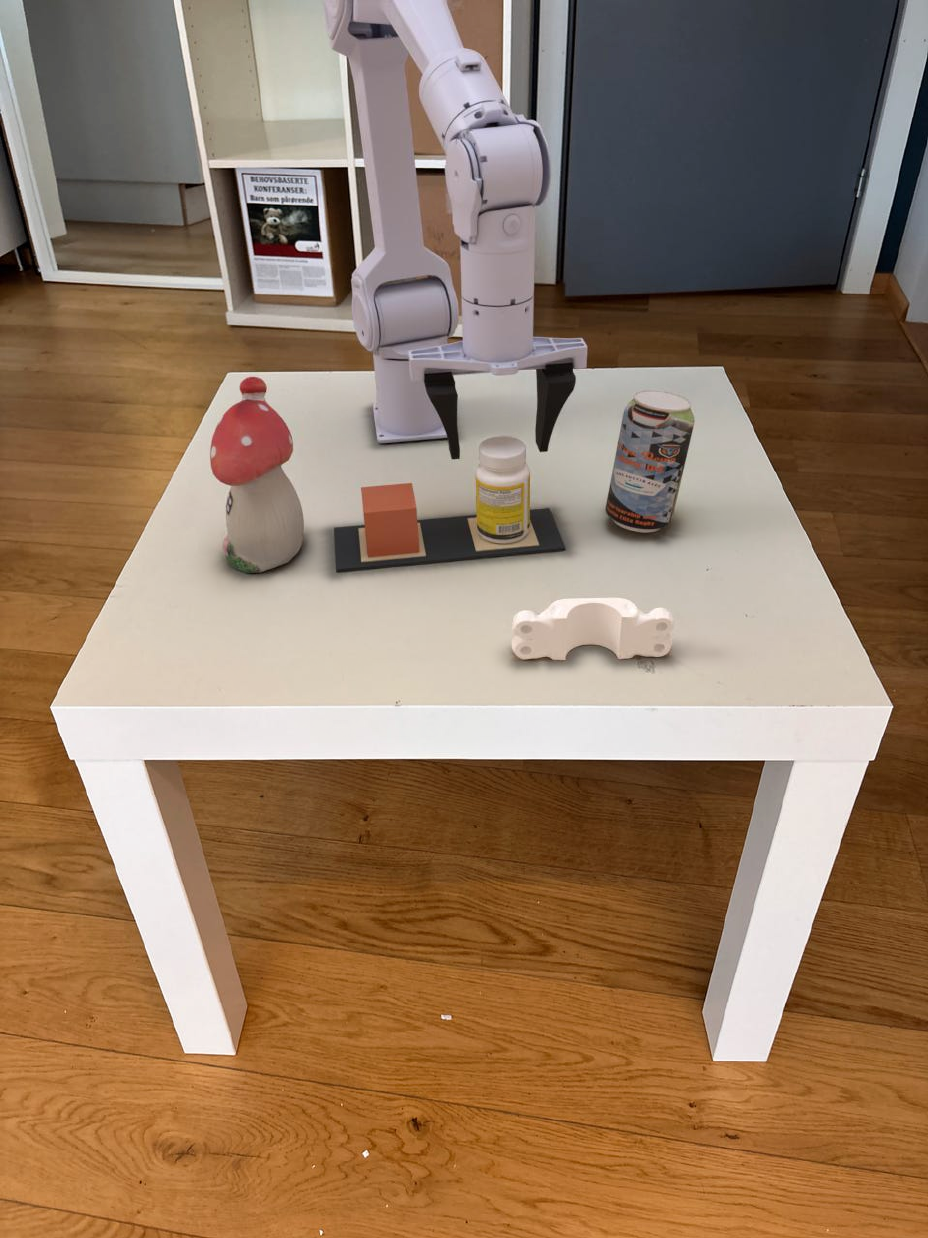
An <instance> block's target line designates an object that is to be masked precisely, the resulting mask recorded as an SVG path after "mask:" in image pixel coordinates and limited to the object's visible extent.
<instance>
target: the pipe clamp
mask: <svg viewBox="0 0 928 1238" xmlns="http://www.w3.org/2000/svg"><path fill="white" fill-rule="evenodd" d="M674 627H675V621H674V618H673V614H672V613H671V612H670V611H669V610H668V609H667V608H665V607H656V608H652V609H651V610H650V611H649V612H648V613H645V612H644V611H642V609H639V608H638V607H637V605H636V604H635V603H634V602H633V601H631V600H629V599H627V598H623V597H582V598H581V597H578V598H577V597H575V598H571V597H570V598H561V599H557V600H554V601H553V602H551V604H549V605H548V607H546V608H545V609H543V611H542V612H540V613H538V614H537V615H536V613H534V611H531V610H528V609H524V610H520V611H518V612H517V613H516V614H515V615H514V617H513V619H512V625H511V629H512V632H513V633H514V634H515V636H514V637H513V638H512V640H511V643H510V644H511V651H513V653H514V655H515V656H516V657H518V658H519V659H520V660H530V659H531V660H533V659H534V660H535V659H540V658H545V657H547V658H549V659H551V660H553V661H566V657H567V655H568V653H569V652H571V650H574V649H575V648H577V647H580V646H585V645H595V646H600V647H603V648H607V649H608V650H609V651H612V653H614V655H616V657H617V659H618V660H627V659H632V658H633V657H634V656H641V657H647V658H649V657H654V658H660V657H664V656H666V655H668V653H669V652H670V650H671V649H672V647H673V639H672V637H671V635H670V633H671V632H672V631H673V630H674Z"/></svg>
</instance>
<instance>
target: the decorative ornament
mask: <svg viewBox="0 0 928 1238" xmlns="http://www.w3.org/2000/svg"><path fill="white" fill-rule="evenodd" d="M267 389H268V388H267V384H266V382H265V380H263V379H262V378H261V377H258V376H249V377H246V378H244V379H243V380H242V381H241V382H240V383H239V391H240V393H241V396H242V398H241V400H240V401H239V402H237V403H234V404H233V405H231V406H230V407H229V408H228V409H227V410H226V411H225V412H224V414H222V416H221V417H220V418H219V420H218V422H217V423H216V427H215V429H214V432H213V434H212V436H211V437H212V438H211V442H210V449H209V450H210V451H209V460H210V462H209V463H210V469H211V472H212V475H213V476H214V477H215V479H217V480H218V481H219V482H220V483H222V484H224V485H226V486H230V489H229V492H228V495H227V497H226V503H225V524H226V525H225V526H226V532H227V535H226V536H225V538H224V539H223V541H222V552H223V556H224V557H225V559H226V561H227V562H228V563H229V564H230V565H231V567H232V568H234V569H236V570H238V571H241V572H243V573H246V574H257V573H259V574H260V573H263V572H265V571H268V570H271V569H275V568H277V567H280V566H282V565H285V564H288V563H289V562H290V561H291V560H292V559H293V558H294V557H295V556H296V555H297V554H298V552H299V551H300V549H301V547H302V545H303V540H304V534H305V519H304V512H303V507H302V504H301V500H300V498H299V495H298V493H297V490H296V489H295V487H294V484H293V483H292V481H291V480H290V478H289V477H288V476H287V474H286V472H284V470H283V468H282V466H283V465H284V464H285V463H287V462H289V460H290V458H291V457H292V455H293V452H294V441H293V440H294V439H293V436H292V433H291V431H290V428H289V426H288V425H287V423H286V422H285V420H284V418H282V417H281V415H280V414H279V413H278V412H277V411H276V410H275V409H274V408H273V407H272V406H270V404H269V403H268V402H267V401H266V398H265V396H266V393H267Z"/></svg>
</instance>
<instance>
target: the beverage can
mask: <svg viewBox="0 0 928 1238" xmlns="http://www.w3.org/2000/svg"><path fill="white" fill-rule="evenodd" d="M695 423H696V422H695V416H694V413H693V411H692V402H691V400H689V399H688V398H686V397H684V396H683V395H680V394H676V393H674V392H669V391H664V390H656V389H645V390H639V391H636V392H635V393H634V394H633V398H632V399H631V400H630V401H629V402H628V403H627V404H626V406H625V407H624V409H623V413H622V418H621V423H620V430H619V434H618V440H617V445H616V449H615V450H616V451H615V455H614V462H613V466H612V471H611V477H610V481H609V486H608V487H609V488H608V492H607V498H606V502H605V513H606V515H607V516H608V517H609V518H610V519H612V521H613V523H615V524H616V525H617V526H619V527H621V528H623V529H625V530H627V531H631V532H635V533H655V532H657V531H660V530H661V529H663V528H666V527H668V526H670V524H672V521H673V518H674V513H675V509H676V504H677V501H678V496H679V492H680V488H681V483H682V479H683V476H684V475H683V474H684V471H685V466H686V461H687V458H688V454H689V453H688V452H689V448H690V444H691V440H692V435H693V431H694V428H695V427H694V426H695Z"/></svg>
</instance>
